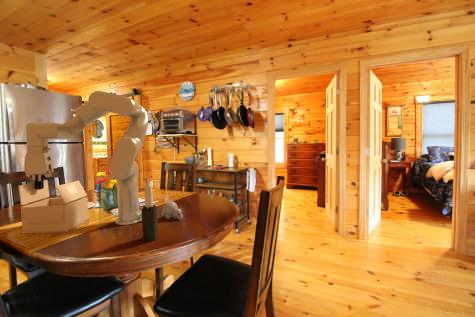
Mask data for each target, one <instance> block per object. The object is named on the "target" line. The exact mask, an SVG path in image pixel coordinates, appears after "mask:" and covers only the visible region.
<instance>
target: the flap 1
mask: <svg viewBox="0 0 475 317" xmlns="http://www.w3.org/2000/svg"><path fill="white" fill-rule="evenodd" d="M17 186H18V193H19V200H20V201H19V202H20V206H25V205H28V204H32V203H35V202H38V201H41V200H45V199H48V198H50V190H49V182H48V179H45V180H44V188H43V189H40V190H35V186H34V182H30V183H26V184H21V185H17Z"/></svg>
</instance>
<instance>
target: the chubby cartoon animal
mask: <svg viewBox="0 0 475 317" xmlns="http://www.w3.org/2000/svg"><path fill="white" fill-rule="evenodd" d="M178 207H179V206H178V205H177V203H176V202H175V201H173V200H169V201H167V202H165V204H164V205H163V208H162V210H161V212H160V216H162V217H165V219H166V220H170V219H171V218H174V217H175V218H177V220H182V219H183V217H184V214H183V213H182V210H183V208H178Z"/></svg>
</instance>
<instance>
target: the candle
mask: <svg viewBox="0 0 475 317" xmlns="http://www.w3.org/2000/svg"><path fill="white" fill-rule="evenodd" d="M146 179H147V180H146V183H145V184H144V187H143V188H144V205H143V206H142V208H141V209H140V210H141V212H142V220H141V226H142V230H141V232H142V241H143V242H154V241H156V240H157V239H158V238H159V224H158V223H159V222H158V221H159V220H158V207H157V205H156V204H154V198H153V197H154V194H153V184H151V180H150V177H147V178H146Z"/></svg>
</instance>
